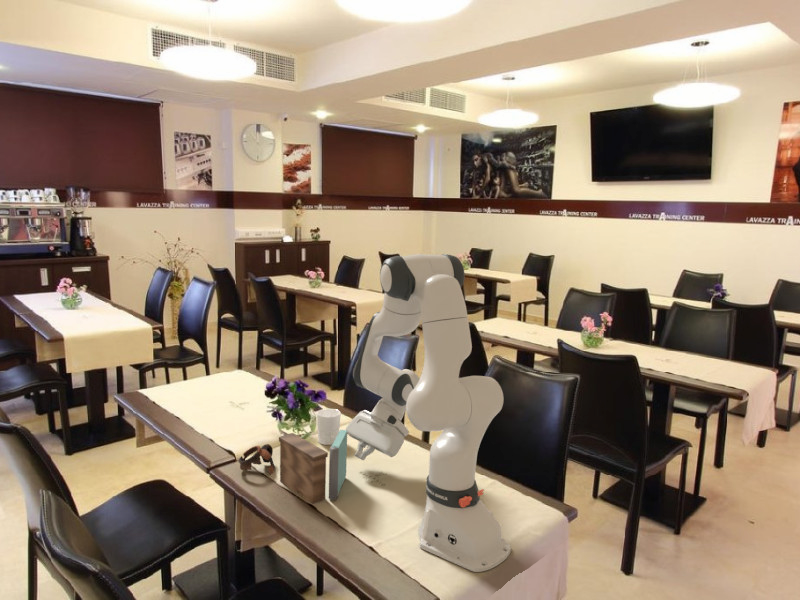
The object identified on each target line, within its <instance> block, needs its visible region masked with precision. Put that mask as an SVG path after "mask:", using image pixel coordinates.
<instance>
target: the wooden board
mask: <svg viewBox="0 0 800 600" xmlns="http://www.w3.org/2000/svg"><path fill="white" fill-rule="evenodd" d="M278 442H280V443H279V448H280V449H279V450H280V451H279V452H280V457H279V459H280V460H279V461H280V462H279V466H280V467H279V481H280V482H281V483H282V482H283V483H282V484H284V486H287V487H288V488H289V489H291V490H292V491H293V492H295V493H297V494H298V495H300V496H301V497H303V498H304V499H306V501H308V502H310V503H311V504H316V503H318V502H321V501H323V500H325V499H326V483H327V482H326V479H327V476H326V475H327V473H326V472H327V458H329V456H328V455H329V453H328V452H329V451H328V452H327V451H325V450H324V449H323V448H320V447H319V446H317V445H315V444H313V443H312V442H310V441H308V440H306V439H304V438H303V437H300V436H299V435H298V434H295V433H294V432H292V433H287V434H284V435H282V436H278Z"/></svg>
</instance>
